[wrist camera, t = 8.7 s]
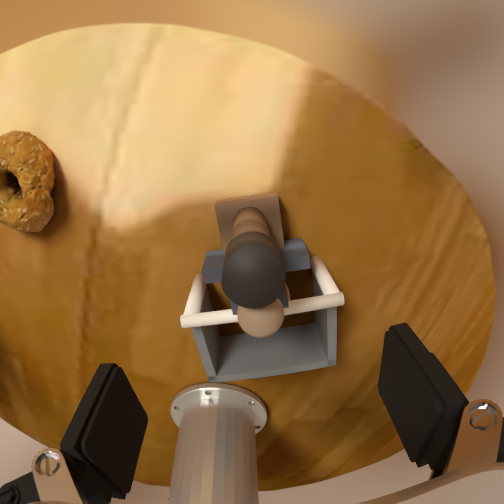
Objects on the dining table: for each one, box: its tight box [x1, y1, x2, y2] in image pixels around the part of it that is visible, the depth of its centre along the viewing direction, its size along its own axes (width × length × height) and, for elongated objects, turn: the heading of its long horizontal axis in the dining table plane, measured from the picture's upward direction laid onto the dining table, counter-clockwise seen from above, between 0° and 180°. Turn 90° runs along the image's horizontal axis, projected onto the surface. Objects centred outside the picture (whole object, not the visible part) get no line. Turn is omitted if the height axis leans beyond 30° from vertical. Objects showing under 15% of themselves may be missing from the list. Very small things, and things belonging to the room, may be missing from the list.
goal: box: [180, 255, 344, 383], centre depth 26 cm, size 8×12×8 cm
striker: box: [202, 192, 311, 338], centre depth 21 cm, size 6×8×12 cm
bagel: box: [0, 130, 55, 232], centre depth 22 cm, size 10×11×5 cm
